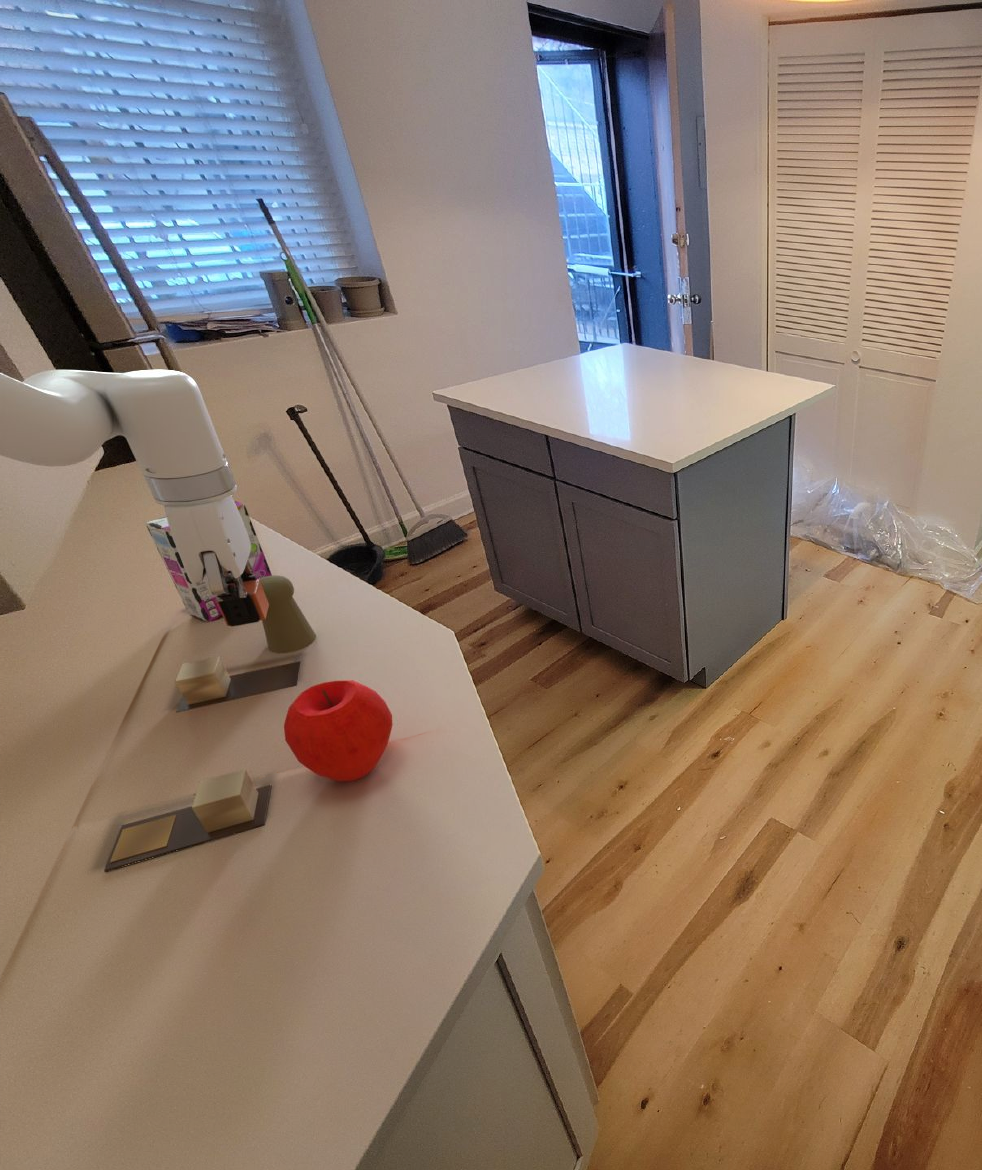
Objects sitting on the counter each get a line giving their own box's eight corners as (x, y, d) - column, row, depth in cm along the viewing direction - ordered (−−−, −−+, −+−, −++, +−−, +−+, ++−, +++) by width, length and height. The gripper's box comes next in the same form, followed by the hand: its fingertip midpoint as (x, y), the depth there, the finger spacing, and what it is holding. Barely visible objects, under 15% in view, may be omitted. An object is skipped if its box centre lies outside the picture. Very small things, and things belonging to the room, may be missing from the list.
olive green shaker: (258, 648, 95) (230, 585, 89) (297, 627, 100) (273, 566, 94) (287, 658, 93) (260, 595, 88) (326, 637, 98) (302, 575, 93)
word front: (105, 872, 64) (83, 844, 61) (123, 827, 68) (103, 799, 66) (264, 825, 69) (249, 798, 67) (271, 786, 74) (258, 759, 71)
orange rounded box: (227, 626, 81) (215, 599, 79) (232, 610, 84) (220, 584, 82) (265, 619, 83) (254, 593, 81) (269, 604, 86) (259, 579, 84)
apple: (414, 735, 82) (389, 659, 75) (387, 796, 73) (357, 716, 67) (328, 742, 80) (296, 665, 74) (291, 805, 72) (250, 724, 65)
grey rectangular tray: (177, 713, 83) (162, 688, 80) (187, 686, 87) (173, 661, 85) (297, 686, 88) (287, 662, 86) (301, 662, 93) (291, 638, 91)
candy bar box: (210, 624, 99) (163, 529, 91) (188, 616, 101) (141, 522, 92) (281, 591, 108) (245, 502, 100) (261, 584, 110) (223, 496, 101)
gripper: (168, 462, 79) (223, 589, 88) (129, 514, 66) (198, 656, 76) (243, 456, 82) (289, 579, 91) (220, 505, 70) (275, 641, 79)
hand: (247, 612), depth 83 cm, fingers closed on orange rounded box, 4 cm apart
